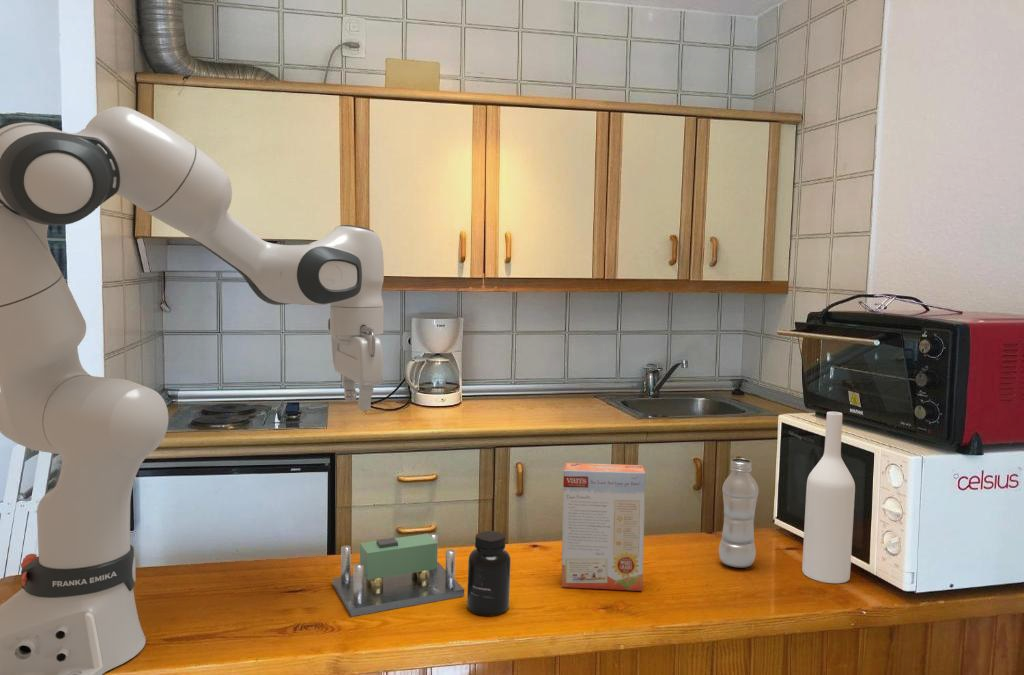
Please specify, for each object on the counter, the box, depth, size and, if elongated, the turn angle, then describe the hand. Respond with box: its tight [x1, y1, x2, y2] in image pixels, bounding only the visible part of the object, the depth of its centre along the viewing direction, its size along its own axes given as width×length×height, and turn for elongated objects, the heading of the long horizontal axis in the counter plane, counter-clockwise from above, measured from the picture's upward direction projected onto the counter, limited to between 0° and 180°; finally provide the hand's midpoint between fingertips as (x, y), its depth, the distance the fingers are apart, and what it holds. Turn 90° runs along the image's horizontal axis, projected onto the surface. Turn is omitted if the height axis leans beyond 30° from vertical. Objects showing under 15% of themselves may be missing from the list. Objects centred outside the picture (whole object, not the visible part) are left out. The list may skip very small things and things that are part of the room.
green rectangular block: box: [359, 533, 437, 580], centre depth 127 cm, size 12×5×5 cm, turn 116°
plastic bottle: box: [718, 457, 760, 569], centre depth 140 cm, size 6×7×20 cm
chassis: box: [332, 532, 465, 617], centre depth 127 cm, size 19×13×7 cm
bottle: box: [801, 411, 856, 584], centre depth 136 cm, size 8×8×30 cm
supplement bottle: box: [466, 530, 512, 616], centre depth 121 cm, size 7×7×12 cm
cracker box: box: [561, 462, 646, 592], centre depth 131 cm, size 14×6×21 cm, turn 84°
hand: (357, 404), depth 128 cm, fingers open, 8 cm apart
